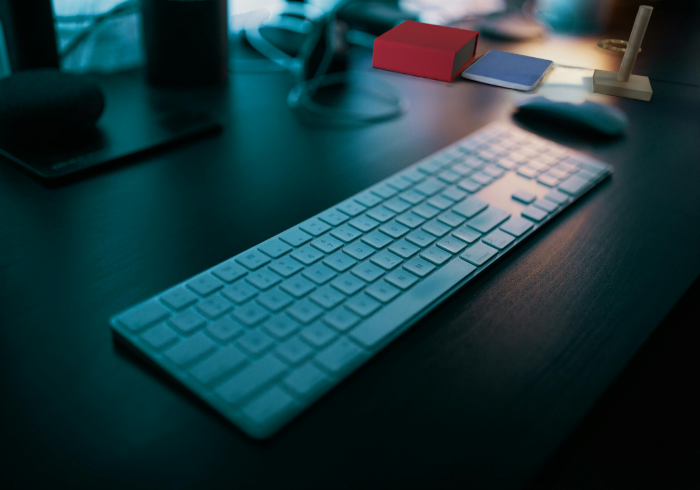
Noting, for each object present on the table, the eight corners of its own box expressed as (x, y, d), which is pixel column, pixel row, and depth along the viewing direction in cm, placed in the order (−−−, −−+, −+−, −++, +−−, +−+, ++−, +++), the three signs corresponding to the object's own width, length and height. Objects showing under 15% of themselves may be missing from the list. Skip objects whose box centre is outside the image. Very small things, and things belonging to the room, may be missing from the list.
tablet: (489, 54, 115) (491, 47, 114) (554, 66, 110) (556, 59, 109) (458, 80, 100) (460, 72, 99) (532, 95, 96) (533, 87, 95)
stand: (645, 85, 104) (673, 5, 96) (649, 101, 97) (680, 16, 89) (592, 77, 106) (616, -2, 98) (593, 92, 99) (618, 8, 91)
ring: (638, 48, 126) (640, 42, 125) (641, 58, 119) (643, 52, 118) (597, 42, 128) (599, 36, 127) (598, 51, 121) (600, 45, 120)
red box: (405, 45, 116) (408, 19, 113) (475, 57, 112) (479, 30, 109) (371, 68, 102) (374, 39, 99) (449, 83, 98) (454, 53, 95)
